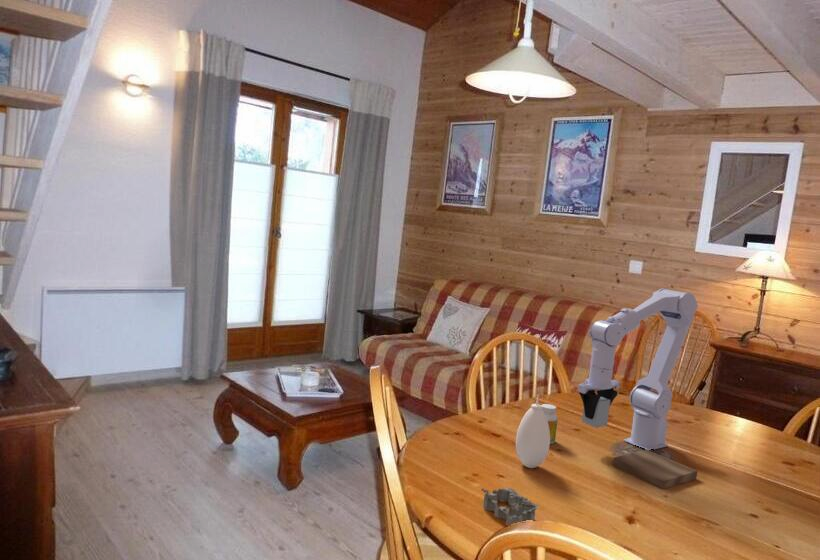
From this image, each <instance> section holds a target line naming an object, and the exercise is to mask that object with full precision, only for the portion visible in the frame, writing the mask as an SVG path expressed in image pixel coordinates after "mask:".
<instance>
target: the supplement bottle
mask: <svg viewBox="0 0 820 560" xmlns="http://www.w3.org/2000/svg"><path fill="white" fill-rule="evenodd" d="M540 405H541V406H542V410H543V412H544V413H545V416H546V418H547V421H548V425H549V430H550V445H553V444H555V442H556V436H557V428H558V418H559V417H558V415H557V414H556V413H557V406H555V405H553V404H549V403H548V404H547V403H543V404H540Z"/></svg>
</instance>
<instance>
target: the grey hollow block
mask: <svg viewBox="0 0 820 560" xmlns="http://www.w3.org/2000/svg"><path fill="white" fill-rule="evenodd" d="M481 491H483V493H485V494H484V495H483V496H484V497H483V502H482V503H483V505H482V507H483V510H485V511H490V512H491V511H492V512H493V511H494V512H493V513H494V517H496V518H497V519H503V520H506V522H505V524H506V525H507V526H508V527H510V526H509V525H511V524H513V523H517V522H521V521H526V520H534V521H535V516H536V511H537V509H538V508H539V506H540V504H535V502H533V503H532V502H531V501H532V500H528V497H524V496H523V495H521V494H519V493H518V492H517V491H516V490H515V489H513V488H511V487H504V488H499V489H498V490H497V489H493V490H492V492H491V493H489V489H485V488H484V487H483V488H481ZM498 501H499V502H503V503H506V502H507V503H508V507H505V506H498V503H499V502H498Z"/></svg>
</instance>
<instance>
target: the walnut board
mask: <svg viewBox="0 0 820 560" xmlns="http://www.w3.org/2000/svg"><path fill="white" fill-rule="evenodd" d="M612 467H615V468H617V469H619V470H621V471H623V472H625V473H628V474H629V475H632V476H634V477H636V478H638V479H640V480H642V481H644V482H647V483H648V484H651V485H653V486H655V487H657V488H660V489H662V490H665V489H668V488H671V487H675V486H677V485H678V486H679V485H681V484H684V483H688V482H690V481H693V480H696V479H697V476H698V475H697V474H698V470H696V469H694V468H691V467H689V466H686V465H684V464H681V463H679V462H677V461H675V460H672V459H670V458H668V457H666V456H664V455H661V454H658V453H656V452H653V451H652V450H650V451H649V450H644V449H642V450H638V451H635V452H631V453H627V454H623V455H620V456H615V457H613V458H612Z"/></svg>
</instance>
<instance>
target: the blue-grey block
mask: <svg viewBox="0 0 820 560" xmlns="http://www.w3.org/2000/svg"><path fill="white" fill-rule="evenodd" d="M610 406H611V405H610V400H609V399H606V398H604V397H600V399H599V401H598V403H597V405H596V409H595V414H594V417H593V419H589V418H587V417H585V411H584V408H583V409H582V410H583V411H582V417H581V418H582V419H581V423H583V424H585V425H588V426H591V427H593V428H597V429H598V428H602V427H607V426H608V423H609V414H610Z"/></svg>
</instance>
